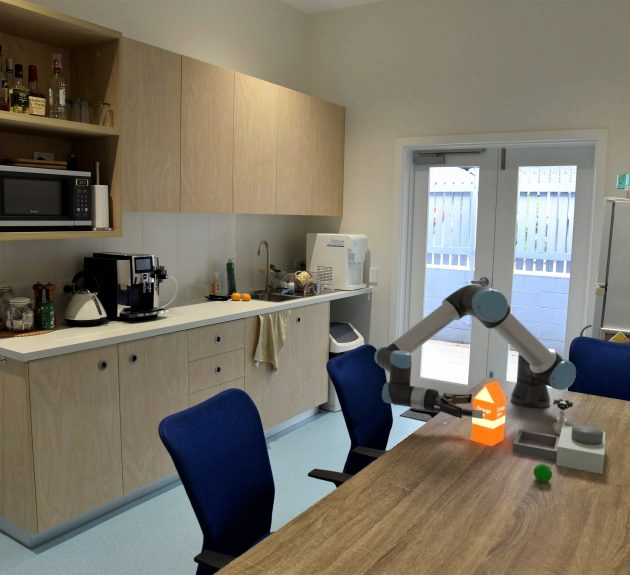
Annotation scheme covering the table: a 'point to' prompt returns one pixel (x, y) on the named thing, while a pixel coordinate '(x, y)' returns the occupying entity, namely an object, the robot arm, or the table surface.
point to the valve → (561, 414)
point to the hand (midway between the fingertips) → (486, 408)
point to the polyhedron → (542, 473)
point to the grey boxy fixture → (567, 447)
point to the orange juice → (489, 415)
